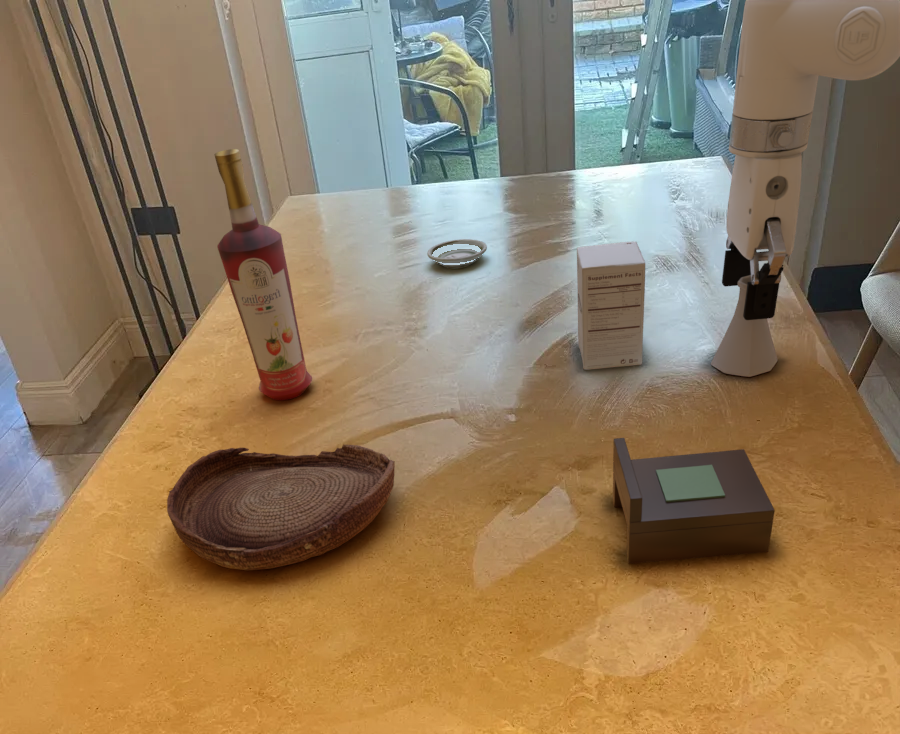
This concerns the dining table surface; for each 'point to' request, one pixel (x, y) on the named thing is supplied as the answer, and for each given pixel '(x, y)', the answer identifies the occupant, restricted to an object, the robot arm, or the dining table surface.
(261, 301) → the liquor
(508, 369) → the dining table surface
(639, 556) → the brown toy bed
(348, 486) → the basket
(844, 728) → the dining table surface
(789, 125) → the robot arm
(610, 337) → the white packaging box
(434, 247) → the saucer
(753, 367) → the flask
